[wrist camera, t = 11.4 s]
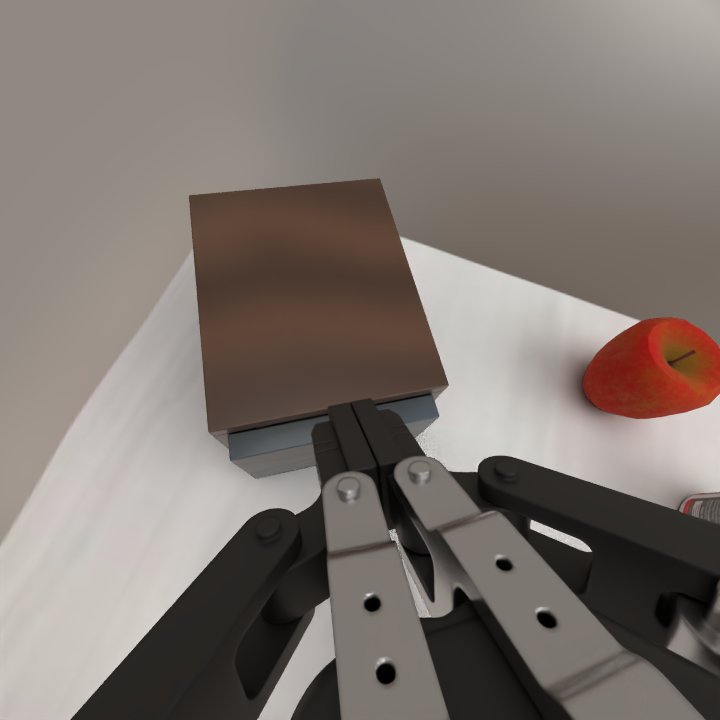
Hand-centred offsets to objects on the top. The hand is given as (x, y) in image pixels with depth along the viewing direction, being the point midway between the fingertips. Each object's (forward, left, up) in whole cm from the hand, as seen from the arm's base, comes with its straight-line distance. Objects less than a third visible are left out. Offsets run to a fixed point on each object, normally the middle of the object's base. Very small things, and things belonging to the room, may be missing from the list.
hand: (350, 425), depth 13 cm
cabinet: (-3, +8, -13) cm, 16 cm away
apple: (+20, +9, -13) cm, 25 cm away
